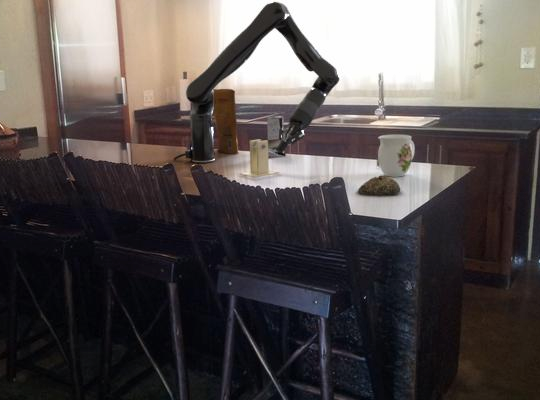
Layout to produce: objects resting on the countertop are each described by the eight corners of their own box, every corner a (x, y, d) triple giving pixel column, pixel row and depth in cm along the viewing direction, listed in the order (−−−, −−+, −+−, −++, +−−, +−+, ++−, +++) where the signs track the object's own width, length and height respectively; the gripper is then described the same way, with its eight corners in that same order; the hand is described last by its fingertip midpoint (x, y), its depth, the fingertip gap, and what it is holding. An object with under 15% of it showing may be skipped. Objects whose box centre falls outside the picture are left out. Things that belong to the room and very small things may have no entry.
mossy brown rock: (399, 197, 189) (399, 180, 188) (356, 195, 194) (356, 179, 193) (402, 187, 201) (402, 172, 199) (361, 186, 205) (362, 171, 204)
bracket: (264, 171, 237) (263, 137, 234) (279, 175, 229) (278, 140, 226) (239, 176, 231) (238, 141, 228) (254, 180, 224) (253, 143, 221)
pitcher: (426, 172, 220) (427, 132, 217) (392, 180, 211) (393, 139, 207) (400, 168, 229) (401, 130, 226) (366, 176, 220) (366, 136, 216)
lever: (274, 156, 236) (276, 150, 236) (284, 158, 231) (286, 152, 231) (249, 146, 229) (251, 140, 229) (260, 148, 224) (262, 142, 224)
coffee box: (283, 157, 264) (282, 118, 260) (267, 157, 266) (266, 118, 262) (284, 153, 273) (283, 115, 269) (269, 153, 274) (268, 115, 270)
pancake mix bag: (230, 155, 274) (228, 89, 268) (209, 150, 291) (206, 88, 284) (244, 153, 277) (241, 88, 271) (222, 148, 294) (219, 87, 287)
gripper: (287, 106, 239) (261, 143, 236) (310, 108, 228) (284, 147, 225) (298, 119, 243) (273, 155, 240) (322, 121, 232) (296, 159, 229)
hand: (279, 151), depth 233 cm, fingers closed
